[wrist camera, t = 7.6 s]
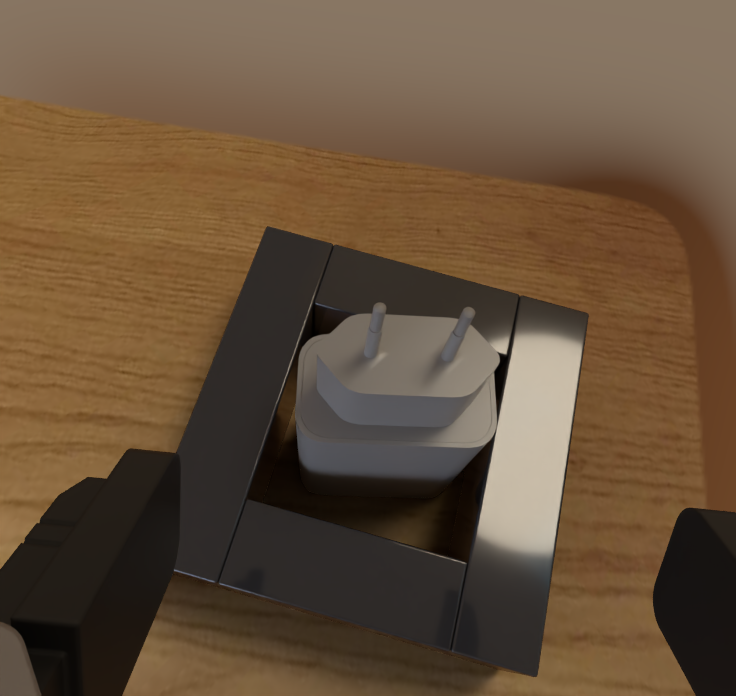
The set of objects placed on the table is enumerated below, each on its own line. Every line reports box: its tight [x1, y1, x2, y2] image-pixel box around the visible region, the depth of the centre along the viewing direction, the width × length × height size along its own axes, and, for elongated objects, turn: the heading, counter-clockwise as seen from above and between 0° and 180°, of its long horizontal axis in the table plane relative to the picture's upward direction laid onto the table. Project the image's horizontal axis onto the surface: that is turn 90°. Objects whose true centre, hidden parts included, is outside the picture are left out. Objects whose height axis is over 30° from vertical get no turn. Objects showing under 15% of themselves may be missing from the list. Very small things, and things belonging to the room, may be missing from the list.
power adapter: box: [295, 303, 500, 498], centre depth 19 cm, size 3×5×12 cm, turn 89°
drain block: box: [173, 227, 589, 677], centre depth 22 cm, size 12×12×4 cm
